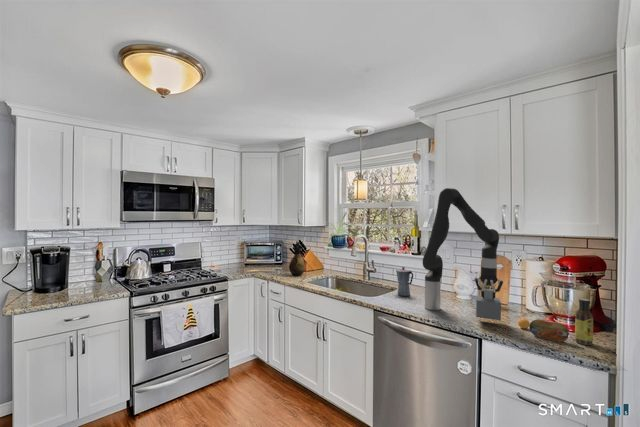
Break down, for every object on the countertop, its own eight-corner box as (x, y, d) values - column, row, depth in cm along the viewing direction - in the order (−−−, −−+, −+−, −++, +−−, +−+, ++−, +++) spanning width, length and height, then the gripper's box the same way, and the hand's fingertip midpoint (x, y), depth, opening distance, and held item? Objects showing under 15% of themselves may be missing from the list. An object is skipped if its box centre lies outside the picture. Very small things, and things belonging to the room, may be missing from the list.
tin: (529, 335, 153) (529, 317, 153) (530, 333, 155) (530, 316, 155) (568, 344, 142) (568, 325, 142) (569, 342, 144) (569, 324, 144)
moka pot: (399, 292, 237) (399, 265, 237) (417, 296, 225) (417, 268, 225) (391, 294, 231) (391, 266, 231) (409, 298, 219) (410, 269, 219)
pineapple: (308, 276, 294) (308, 244, 295) (293, 277, 286) (293, 244, 286) (299, 273, 309) (300, 242, 309) (285, 274, 301) (285, 243, 301)
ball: (523, 330, 163) (514, 323, 165) (528, 323, 164) (519, 316, 166) (528, 330, 159) (519, 323, 160) (533, 323, 160) (524, 315, 161)
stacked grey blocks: (476, 317, 166) (476, 290, 166) (475, 311, 176) (476, 286, 176) (500, 320, 161) (501, 293, 161) (498, 314, 171) (499, 288, 171)
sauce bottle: (590, 347, 139) (590, 302, 139) (573, 342, 144) (573, 299, 144) (594, 344, 143) (595, 300, 143) (577, 339, 148) (577, 297, 148)
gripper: (474, 266, 168) (473, 298, 168) (504, 268, 162) (504, 302, 162) (473, 264, 175) (473, 295, 175) (503, 266, 169) (502, 298, 169)
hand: (488, 298), depth 169 cm, fingers closed on stacked grey blocks, 4 cm apart
